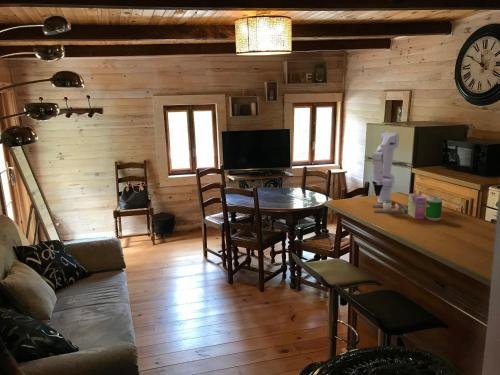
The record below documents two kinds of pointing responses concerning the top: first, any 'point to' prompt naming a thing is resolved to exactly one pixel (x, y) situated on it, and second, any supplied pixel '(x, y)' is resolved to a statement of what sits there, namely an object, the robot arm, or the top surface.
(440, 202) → the soda can
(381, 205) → the lane
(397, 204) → the bar
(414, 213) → the box
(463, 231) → the top surface
